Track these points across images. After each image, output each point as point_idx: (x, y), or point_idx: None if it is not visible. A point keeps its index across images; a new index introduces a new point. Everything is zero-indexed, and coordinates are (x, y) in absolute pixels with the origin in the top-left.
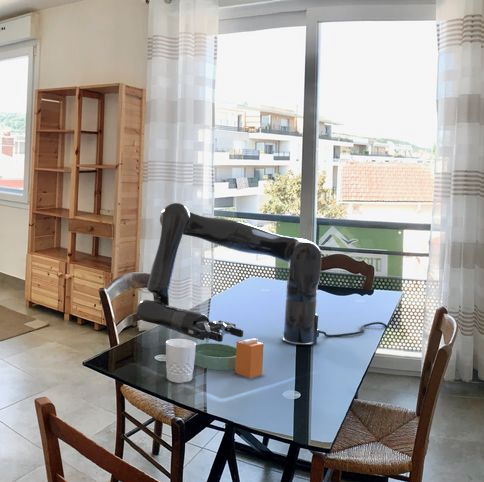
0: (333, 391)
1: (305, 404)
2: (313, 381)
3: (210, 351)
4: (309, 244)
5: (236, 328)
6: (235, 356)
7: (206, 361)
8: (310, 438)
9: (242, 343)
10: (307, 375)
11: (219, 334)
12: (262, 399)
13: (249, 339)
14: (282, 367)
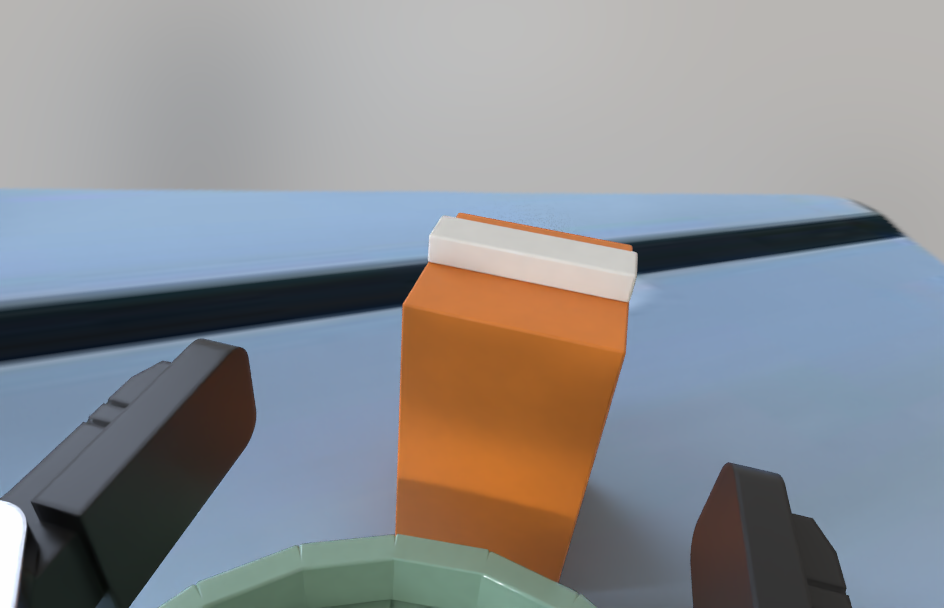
0: (420, 214)
1: (647, 247)
2: (339, 263)
3: None
4: None
5: (163, 414)
6: (467, 556)
7: None
8: (868, 212)
9: (626, 303)
10: (253, 288)
11: (785, 493)
12: (775, 345)
13: (535, 246)
14: None
